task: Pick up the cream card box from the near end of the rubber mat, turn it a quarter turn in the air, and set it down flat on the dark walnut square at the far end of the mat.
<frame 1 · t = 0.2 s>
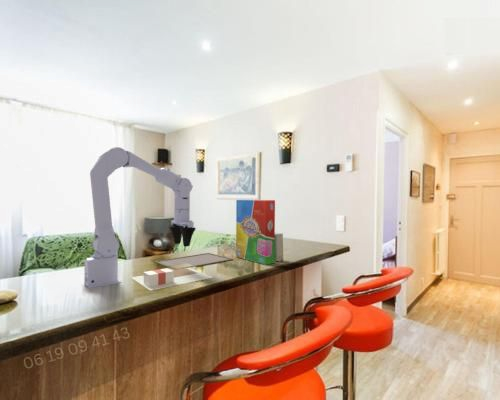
hand: (181, 244, 108), 10 cm above the worktop, tool pointing down, fingers open, 7 cm apart
card box: (158, 282, 91), resting on mat
picture frame: (194, 262, 124), on the worktop
mat: (172, 278, 97), on the worktop
skincare box: (275, 260, 126), on the worktop
game box: (254, 260, 127), on the worktop
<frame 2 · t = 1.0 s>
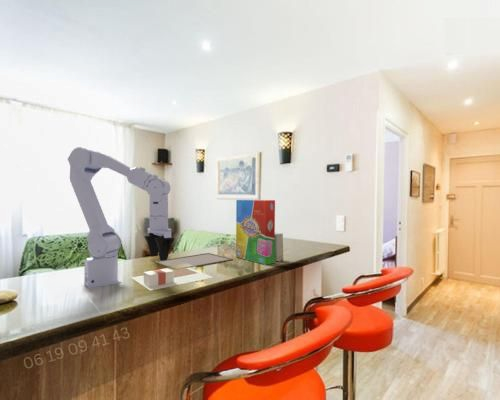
hand: (158, 258, 91), 8 cm above the worktop, tool pointing down, fingers open, 7 cm apart
nothing on the worktop moved.
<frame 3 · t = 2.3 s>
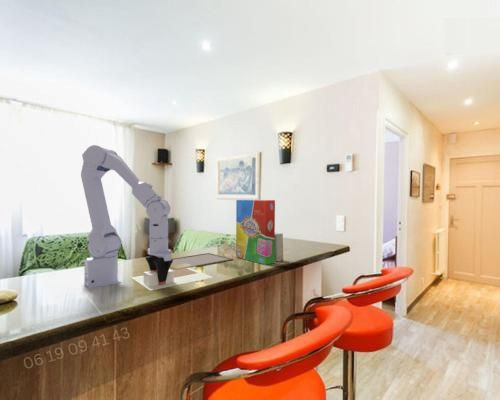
hand: (158, 279, 91), 1 cm above the worktop, tool pointing down, fingers closed on card box, 5 cm apart
card box: (158, 282, 91), resting on mat, touching gripper
everything else where it was.
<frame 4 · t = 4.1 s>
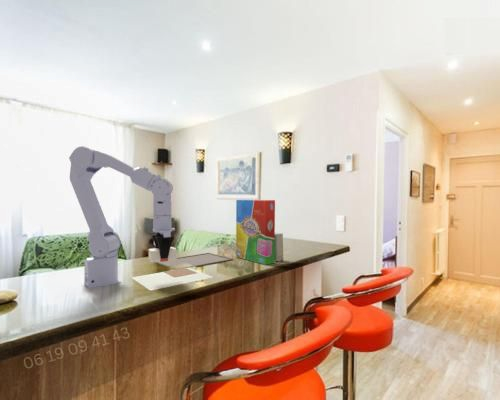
hand: (162, 256, 93), 8 cm above the worktop, tool pointing down, fingers closed on card box, 5 cm apart
card box: (162, 259, 93), point 7 cm above the worktop, touching gripper
everything else where it was.
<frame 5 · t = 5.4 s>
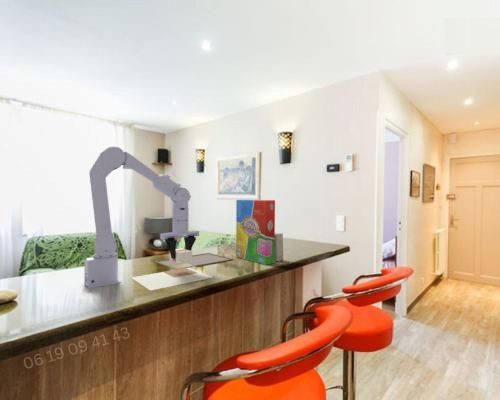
hand: (180, 257, 103), 6 cm above the worktop, tool pointing down, fingers closed on card box, 5 cm apart
card box: (180, 260, 103), point 5 cm above the worktop, touching gripper
everything else where it was.
when the fingers open (3 cm above the worktop, at t = 6.3 s): card box drops 2 cm, resting on mat.
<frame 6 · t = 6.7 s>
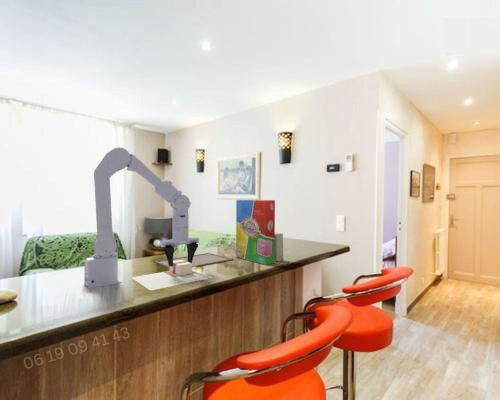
hand: (180, 264, 103), 3 cm above the worktop, tool pointing down, fingers open, 7 cm apart
card box: (180, 272, 103), point 1 cm above the worktop, touching mat
everything else where it was.
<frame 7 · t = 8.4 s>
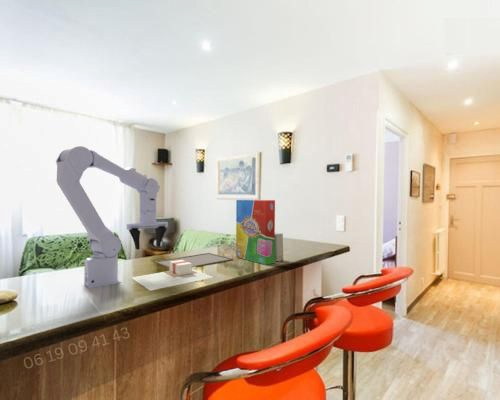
hand: (148, 247, 104), 9 cm above the worktop, tool pointing down, fingers open, 7 cm apart
nothing on the worktop moved.
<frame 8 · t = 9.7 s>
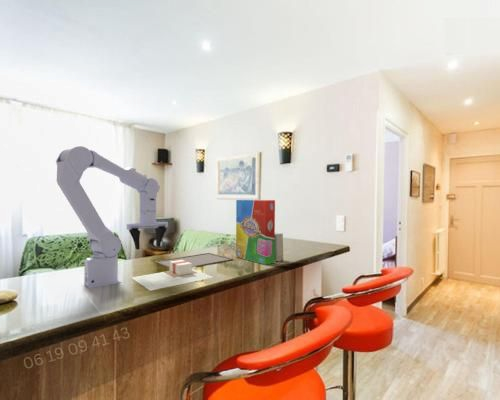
hand: (148, 247, 104), 9 cm above the worktop, tool pointing down, fingers open, 7 cm apart
nothing on the worktop moved.
at the end: card box inside the target area on the mat (0.0 cm from its centre), point 0.5 cm above the mat's base; card box tilted 0°; the gripper is holding nothing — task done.
